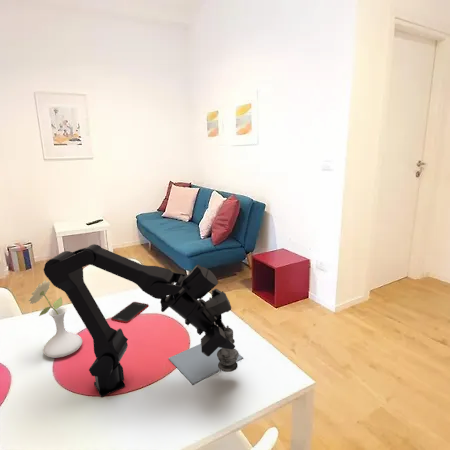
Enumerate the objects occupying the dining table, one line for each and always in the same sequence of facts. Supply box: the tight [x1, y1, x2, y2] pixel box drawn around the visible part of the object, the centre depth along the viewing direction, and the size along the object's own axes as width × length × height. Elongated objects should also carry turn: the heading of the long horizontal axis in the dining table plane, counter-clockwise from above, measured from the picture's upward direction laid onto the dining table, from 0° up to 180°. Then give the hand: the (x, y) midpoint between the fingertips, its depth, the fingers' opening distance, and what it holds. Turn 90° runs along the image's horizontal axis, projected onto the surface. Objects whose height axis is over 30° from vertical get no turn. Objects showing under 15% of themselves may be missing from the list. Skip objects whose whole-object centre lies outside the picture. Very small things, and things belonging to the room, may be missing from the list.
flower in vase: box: [28, 280, 83, 359], centre depth 102 cm, size 13×11×25 cm
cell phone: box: [110, 301, 150, 324], centre depth 129 cm, size 8×15×1 cm, turn 159°
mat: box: [167, 343, 244, 385], centre depth 100 cm, size 18×14×1 cm
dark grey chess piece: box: [217, 324, 240, 373], centre depth 87 cm, size 6×6×12 cm
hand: (232, 343), depth 87 cm, fingers closed on dark grey chess piece, 4 cm apart
